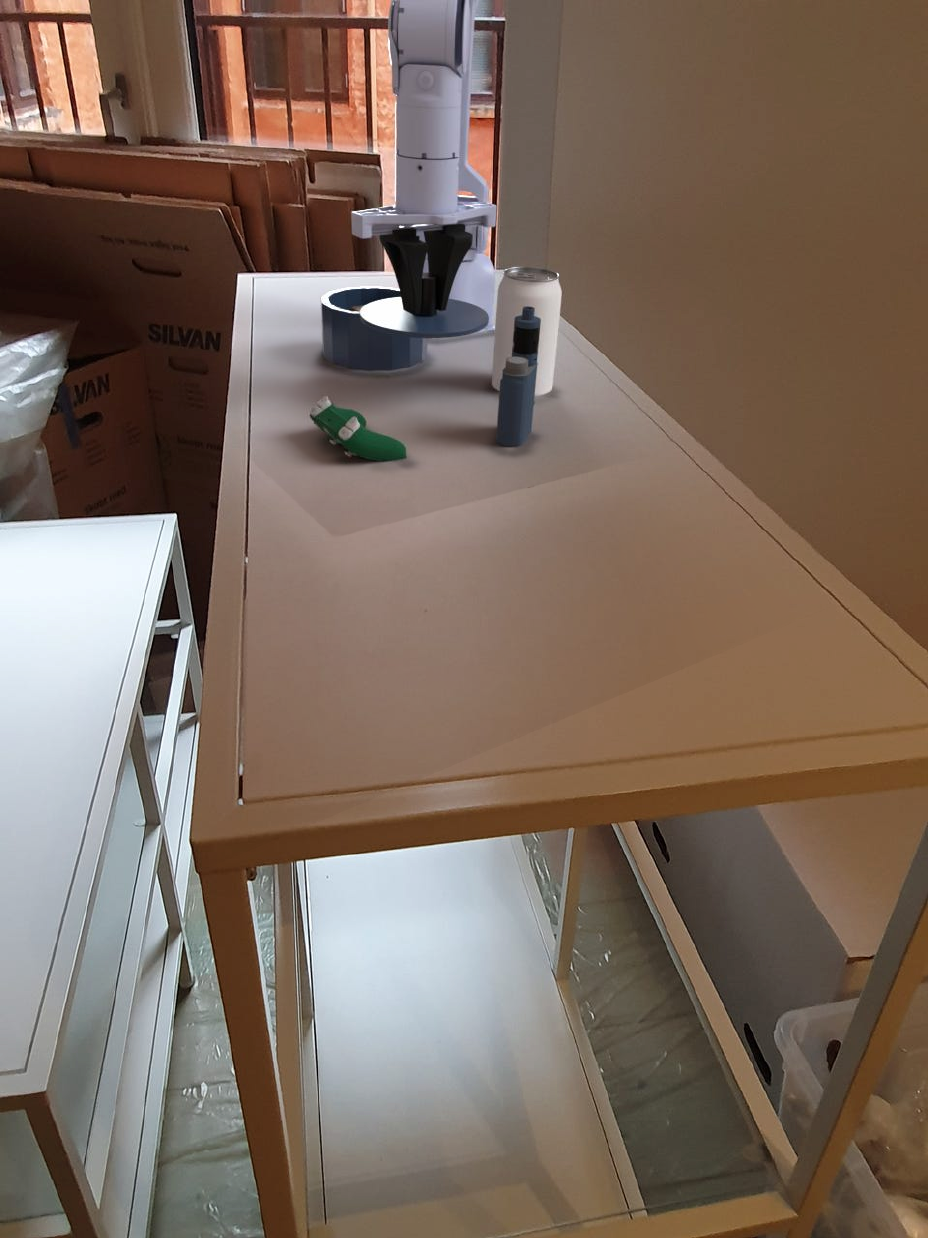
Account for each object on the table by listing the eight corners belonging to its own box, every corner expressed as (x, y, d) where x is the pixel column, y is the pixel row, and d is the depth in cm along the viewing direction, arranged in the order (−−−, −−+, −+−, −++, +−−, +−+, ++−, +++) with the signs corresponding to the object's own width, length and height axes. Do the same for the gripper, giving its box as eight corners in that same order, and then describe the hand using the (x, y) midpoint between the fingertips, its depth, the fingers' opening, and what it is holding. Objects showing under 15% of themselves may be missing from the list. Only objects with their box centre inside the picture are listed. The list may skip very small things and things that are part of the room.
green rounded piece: (339, 449, 87) (295, 415, 82) (364, 417, 86) (321, 381, 82) (387, 487, 80) (342, 451, 76) (414, 452, 80) (370, 415, 76)
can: (547, 404, 94) (559, 283, 88) (486, 396, 95) (493, 277, 88) (555, 383, 99) (567, 268, 93) (496, 377, 100) (504, 262, 94)
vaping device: (534, 434, 87) (546, 306, 81) (519, 454, 83) (530, 321, 76) (508, 429, 88) (518, 302, 81) (492, 449, 84) (501, 317, 77)
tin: (393, 337, 111) (394, 282, 107) (445, 366, 103) (447, 307, 99) (306, 350, 105) (303, 292, 101) (353, 381, 97) (351, 320, 94)
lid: (444, 301, 97) (445, 255, 94) (513, 334, 89) (517, 284, 86) (337, 315, 91) (336, 266, 88) (401, 352, 82) (401, 298, 80)
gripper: (377, 164, 75) (379, 330, 83) (519, 158, 82) (508, 311, 90) (338, 152, 80) (343, 310, 88) (475, 147, 87) (468, 294, 95)
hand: (424, 310), depth 89 cm, fingers closed on lid, 2 cm apart
